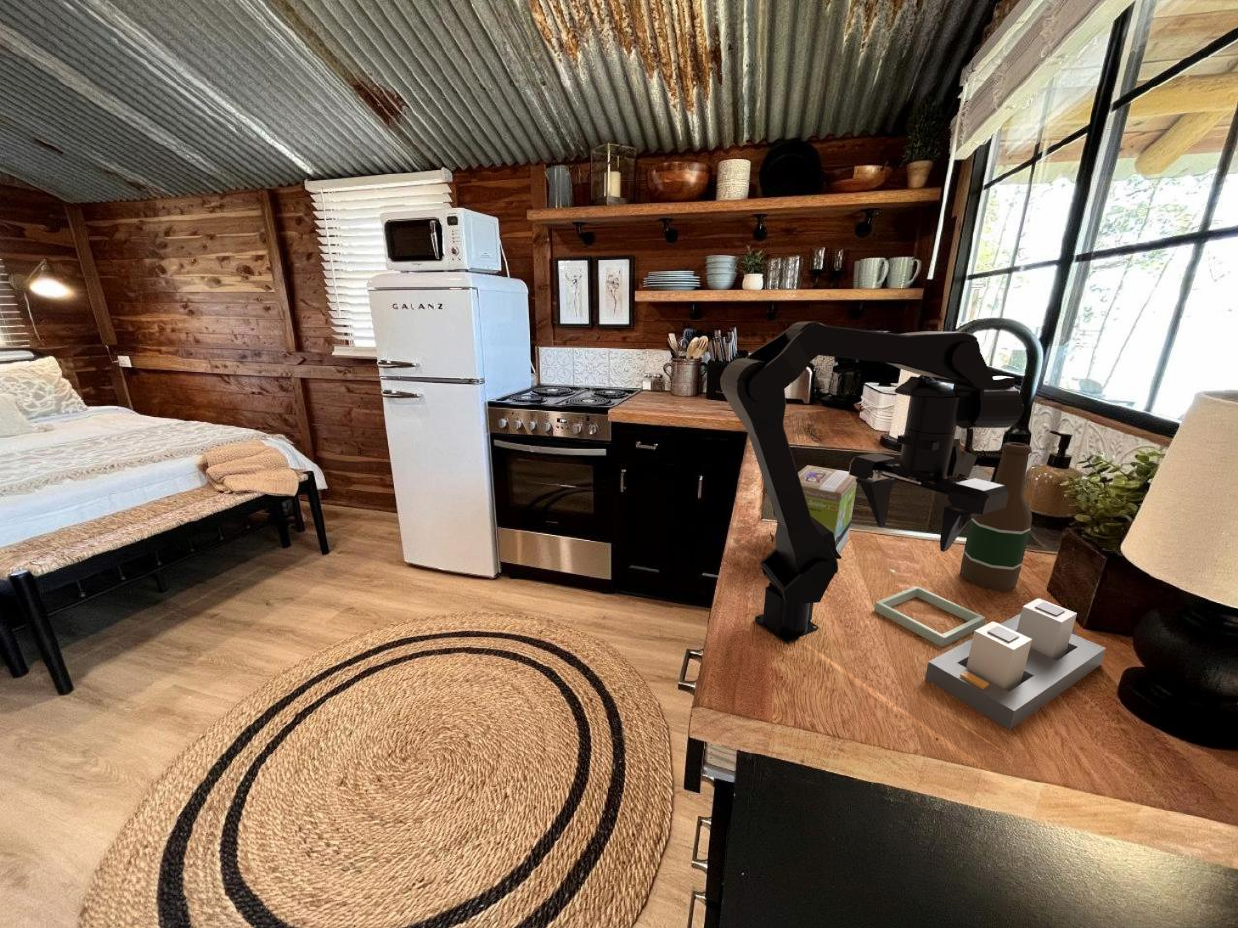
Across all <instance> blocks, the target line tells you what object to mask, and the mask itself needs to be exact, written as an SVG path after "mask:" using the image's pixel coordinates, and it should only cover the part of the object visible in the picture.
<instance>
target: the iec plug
mask: <svg viewBox="0 0 1238 928" xmlns="http://www.w3.org/2000/svg"><path fill="white" fill-rule="evenodd" d="M1000 624H1001V623H998V622H996V621H994V620H992V621H991V622H989V623H987V624H984V626H983V627H981V628H979V629H977V630H975V631H974V632H973V635H972V639H973V640H972V644H971V649H970V653H969V658H968V662H967V667H966V668H967V669H969V670H971V671H973V672H974V673H976V674H978V675H980V676H982V677H983V678H985V679H987V680H989V681H991V682H992V683H994V684H996V685H998V686H1000V687H1001V688H1003V689H1005V690H1007V691H1011V690H1013V689H1014V688H1016V687H1017V686H1019V685H1020V684H1021V680H1022V676H1023V673H1024V669H1025V665H1026V661H1027V657H1028V654H1029V650H1030V646H1031V642H1032V639H1031V638H1028V637H1026V636H1024V635H1022V634H1020V633H1018V632H1015V631H1013V630H1011V629H1009V628H1007V627H1005V626H1002V625H1000Z"/></svg>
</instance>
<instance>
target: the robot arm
mask: <svg viewBox="0 0 1238 928" xmlns="http://www.w3.org/2000/svg"><path fill="white" fill-rule="evenodd" d="M818 356H823V357H832V358H841V359H851V360H856V361H857V360H858V361H868V362H874V363H875V362H876V363H884V364H888V365H891V366H894V367H895V368H898V369H900V370H903V371H906V372H910V373H912V374H916V375H919V376H913V375H911V376H909V378H908V379H907V380H906V381H904V383H902V384H900V385H899V386H897V387H896V388H895V389H894V392H895V394H898V395H900V396H901V395H902V396H906V397H909V401H908V402H909V403H908V408H907V414H906V422H905V427H904V433H903V434H899V435H897V438H896V443H897V444H900V445H901V451H900V458H899V461H898V460H897V458H896V457H892V456H889V455H884V454H881V453H877V452H873V453H869V454H868V453H867V454H862V455H857V456H855V457H853V459H852V460H851V461H850V462H849V469H848V470H849V471H848V472H849V475H852V476H855V477H858V478H856V482H857V484H859V485H860V487H861V490H862V491H863V493H864V495H865V497H866V499H867V502H868V503H869V506H870V509H871V513H872V515H873V517H874V520H875V522H876V524H877V527H879V528H883V527H885V526H886V523H887V518H888V514H889V506H890V500H891V492H892V490H893V487H895V484H896V482H897V481H900V482H903V483H907V484H910V485H913V486H917V487H921V488H925V489H926V490H927V489H928V490H931V491H933V492H936V493H937V492H938V493H941V494H944V495H948V496H947V500H948V502H949V503H950V504H949V505H946V506H944V507H943V510H942V511H943V512H942V521H941V522H942V523H941V530H940V536H939V537H940V538H939V549H940V551H941V552H943V553H944V552H947V551H948V550H949V549H950V548H951V546H952V545H953V544H954V543H955V541H956V540H957V538H958V536H959V535H960V534H961V532H962V531H963V530H964V528H965V527H966V525H968V523H970V520H971V519H972V518H973V517H974V516H976V515H980V514H986V513H989V512H992V511H996V510H999V509H1002V508H1006V506H1007V501H1008V497H1009V494H1008V492H1007V490H1006V488H1005V486H1004V485H1001V484H997V483H994V481H988V480H984V479H980V478H976V477H973V478H971V479H970V476H971V473H972V472H973V471H972V470H973V468H974V465H975V463H976V460H977V458H978V457H977V456H976V455H973V454H971V453H969V452H967V451H964V450H962V449H961V448H960V447H961V441H960V440H961V438H960V437H956V431H957V427H958V428H960V429H964V430H965V429H967V430H968V429H969V430H972V429H1001V428H1002V429H1003V428H1004V429H1005V428H1009V427H1013V426H1014V425H1016V424H1017V423H1018V422H1019V421H1020V419H1021V418H1022V416H1023V413H1024V410H1025V405H1024V404H1023V403H1024V401H1023V398H1022V395H1021V393H1020V391H1019V390H1018V389H1017V388H1016V387H1015V381H1016V378H1015V377H1011V376H1005V375H1004V376H1003V375H996V376H992V373H991V371H990V369H989V367H988V365H987V363H986V360H985V359H984V356H983V355H982V352H981V348H980V343H979V341H978V337H977V335H975V334H974V333H971V332H968V331H967V332H966V331H938V330H937V331H930V330H926V331H916V332H905V333H892V332H885V331H884V332H883V331H878V330H877V331H876V330H875V331H874V330H868V329H861V328H860V329H859V328H853V327H851V328H850V327H844V326H843V327H842V326H835V325H829V324H827V325H826V324H823V323H822V322H819V321H798V322H795V323H792V324H791V325H790V326H789V327H787V329H786V330H784V331H783V332H781V333H780V334H779V335H777V336H776V337H775V338H773V339H771V340H770V341H768V342H766V343H765V344H763V345H761V346H760V347H758V348H756V349H755V350H754V351H752V352H751V353H750V354H749V355H747V356H746V357H745V358H744V357H741V358H736V359H735V360H733V361H732V362H729V363H728V364H727V366H726V367H725V368H724V370H723V372H722V374H721V376H720V379H719V382H720V389H721V391H722V394H723V395H724V397H725V399H726V401H727V403H728V404H729V406H730V408H731V409H732V411H733V413H734V414H735V416H736V417H737V419H738V420H739V421H740V423H741V424H742V425H743V427H744V429H745V430H746V432H747V434H748V437H749V440H750V442H751V446H752V449H753V451H754V455H755V459H756V461H757V464H758V467H759V471H760V473H761V477H762V479H763V482H764V483H763V484H764V485H765V488H766V491H767V494H768V497H769V501H770V504H771V506H772V509H773V512H774V516H775V518H776V528H775V529H776V530H775V534H774V535H775V536H774V538H775V546H776V548H774V549H773V550H772V551H771V552H770V553H769V554H768V555H767V556H766V557H764V559H762V560H761V561H760V562H759V566H760V568H761V572H762V575H764V576H765V578H767V580H768V581H769V583H768V586H765V590H764V603H763V612H762V614H759V615H755V617H754V621H755V622H756V623H757V624H758V625H760V626H761V627H763V628H764V629H765V630H766V631H768V632H769V633H770V634H772V635H774V636H775V637H777V638H778V639H779V640H781V641H782V642H784V643H785V644H790V643H793V642H796V641H798V640H800V639H801V637H804V636H807V635H808V634H811V633H814V632H815V631H816V632H817V631H818V630H819V629H820V627H819V626H818V625H816V624H815V623H813V622H812V621H811V620H812V618H813V611H814V610H813V609H814V604H816V603H818V604H819V603H820V602H821V601H822V599H823V596H824V595H825V593H826V591H827V590H828V587H829V585H830V583H831V581H832V580H833V578H834V577H835V575H836V574H838V572H839V561H838V560H841V559H842V556H841V554H838V552H837V550H836V545H835V537H834V534H833V532H832V531H830V530H829V529H828V528H827V527H825V526H824V525H823V524H821V523H820V522H819V521H818V520H816V519H815V518H814V517H812V516H811V514H810V511H809V508H808V505H807V501H806V498H805V495H804V492H803V488H802V485H801V482H800V478H799V475H798V472H799V471H798V469H797V465H796V463H795V459H794V456H793V453H792V450H791V447H790V443H789V440H788V439H789V438H788V436H787V433H786V431H785V425H784V424H785V423H784V422H785V416H786V409H787V400H786V399H787V398H786V397H787V396H786V390H785V389H786V388H787V387H789V386H790V385H791V384H793V383H794V382H795V381H796V380H798V378H799V377H800V376H801V375H802V374H803V372H805V370H806V368H807V367H808V366H809V365H810V363H811V362H812V361H813V360H814V359H816V358H817V357H818ZM920 376H925V377H929V378H930V379H931V380H932V382H931V381H929V382H928V381H927V382H926V380H925V379H924V377H920ZM949 384H951V385H953V388H952V387H951V386H950V385H949ZM958 476H959V477H962V478H965V479H966V480H961V481H955V480H952V479H948V477H951V478H956V477H958Z"/></svg>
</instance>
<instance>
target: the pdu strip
mask: <svg viewBox="0 0 1238 928" xmlns="http://www.w3.org/2000/svg"><path fill="white" fill-rule="evenodd" d="M1020 616H1021V612H1020V613H1019V614H1017V615H1015V616H1012V617H1011V618H1009V619H1007V620H1005V621H1003V622H1001V623H999V624H1000V625H1002V626H1005V627H1007V628H1009V629H1011V630H1013V631H1015V632H1017V628H1018V624H1019V620H1020ZM972 640H973V638H971V639H969V640H967V641H965V642H963V643H961V644H959V645H957V646H956V647H954V648H951V649H950V650H948V651H946V652H944V653H942V654H940V655H938V656H936V657H934V658H932V659H930V660H929V661H928V662H927V668H926V672H925V678H924V679H925V680H926V681H928V682H930V683H931V684H933V685H934V686H936V687H938V688H940V689H941V690H943V691H944V692H946V693H948V694H949V695H951V696H953V697H955V698H956V699H958V700H959V701H961V702H962V703H964V704H966V706H967V705H968V706H969V707H970V708H972V709H974V710H976V711H977V712H979V713H980V714H982V715H984V716H985V717H987V718H989V719H990V720H992V721H994V722H995V723H997V724H998V725H1000V726H1002V727H1004V728H1005V729H1006V730H1008V731H1011V730H1012V729H1013V728H1014V727H1016V726H1017V725H1018V724H1020V723H1021V722H1023V721H1024V720H1026V719H1027V718H1029V717H1030V716H1031V715H1033V714H1034V713H1035V712H1037V711H1038V710H1039V709H1041V708H1042V707H1044V706H1045V705H1047V704H1048V703H1050V702H1051V701H1052V700H1054V699H1055V698H1057V697H1058V696H1059V695H1061V694H1062V693H1064V692H1065V691H1066V690H1068V688H1070V687H1072V686H1073V685H1074V684H1076V683H1077V682H1079V681H1080V680H1081V679H1083V678H1085V677H1086V676H1087V675H1088V674H1090V673H1091V672H1093V671H1094V670H1096V669H1097V668H1099V667H1100V666H1101V665H1102V663H1103V658H1104V656H1105V653H1106V650H1107V648H1106V647H1104V646H1102V645H1100V644H1097V643H1095V642H1092V641H1090V640H1087V639H1085V638H1083V637H1081V636H1079V635H1077V632H1076V631H1075V629H1072V633H1071V636H1070V640H1069V643H1068V647H1067V650H1066V654H1065V656H1063V657H1062V658H1060V659H1059V660H1055V659H1053V658H1050V657H1048V656H1046V655H1044V654H1042V653H1040V652H1038V651H1036V650H1034V649H1031V648H1030V650H1029V654H1028V657H1027V661H1026V665H1025V669H1024V673H1023V676H1022V680H1021V684H1020V685H1019V686H1017V687H1016V688H1014V689H1013V690H1011V691H1007V690H1005V689H1003V688H1001V687H1000V686H998V685H996V684H994V683H992V682H991V681H989V680H987V679H985V678H983V677H982V676H980V675H978V674H976V673H974V672H973V671H971V670H969V669H967V668H966V667H967V662H968V658H969V653H970V649H971V644H972Z"/></svg>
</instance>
